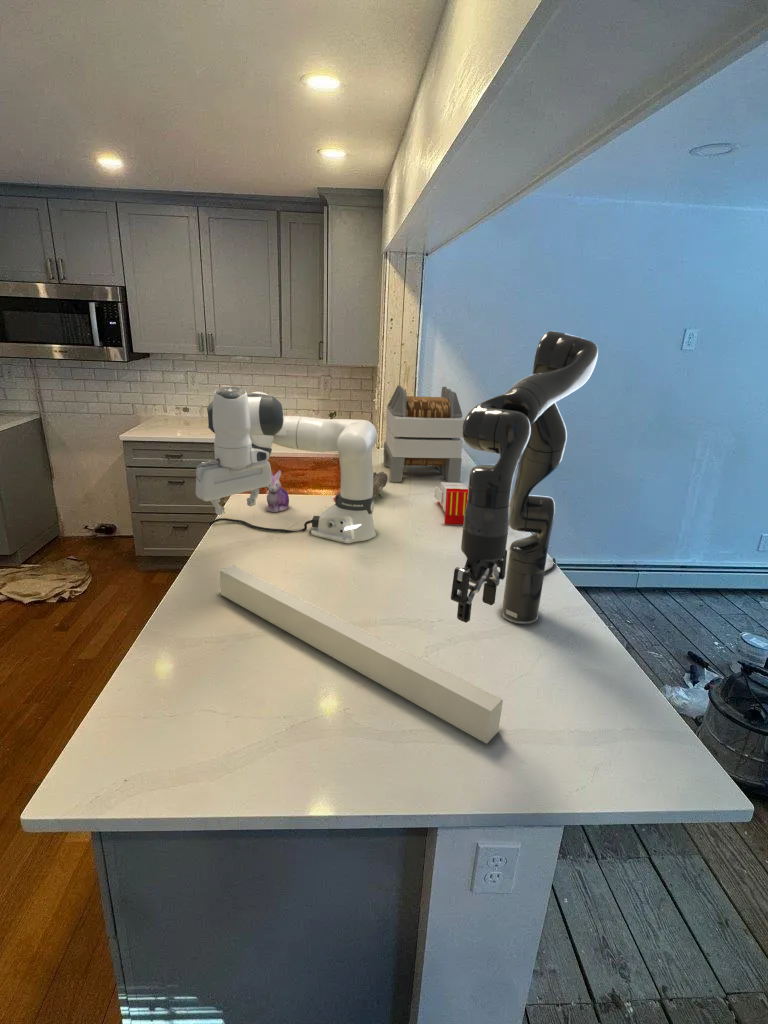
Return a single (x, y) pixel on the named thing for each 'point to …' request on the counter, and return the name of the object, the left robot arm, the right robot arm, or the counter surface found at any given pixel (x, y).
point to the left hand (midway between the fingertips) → (236, 509)
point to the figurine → (276, 494)
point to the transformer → (424, 434)
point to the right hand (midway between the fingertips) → (476, 611)
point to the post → (368, 654)
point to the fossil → (379, 482)
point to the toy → (452, 501)
